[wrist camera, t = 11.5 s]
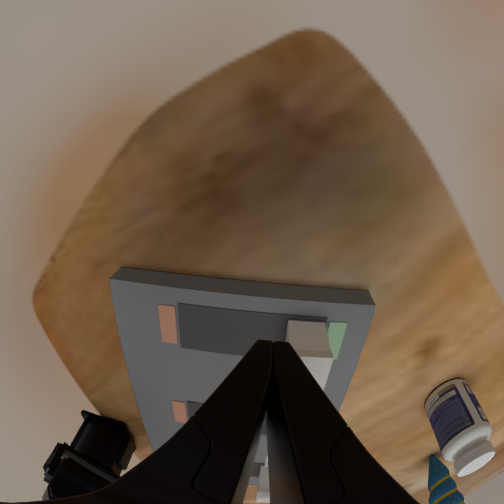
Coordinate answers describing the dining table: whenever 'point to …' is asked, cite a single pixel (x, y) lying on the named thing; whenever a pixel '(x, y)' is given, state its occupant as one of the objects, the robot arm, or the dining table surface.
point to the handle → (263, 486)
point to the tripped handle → (311, 347)
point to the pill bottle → (460, 426)
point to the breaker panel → (220, 338)
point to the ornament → (442, 484)
